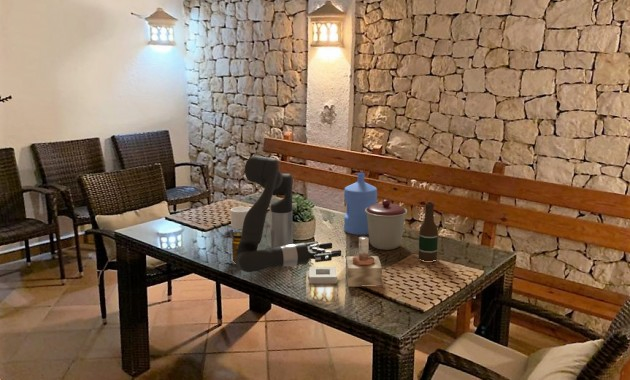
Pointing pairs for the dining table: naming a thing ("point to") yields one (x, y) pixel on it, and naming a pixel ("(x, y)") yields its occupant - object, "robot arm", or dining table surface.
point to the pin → (363, 253)
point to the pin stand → (322, 275)
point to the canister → (385, 225)
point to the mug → (238, 216)
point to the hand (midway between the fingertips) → (336, 248)
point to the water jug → (358, 205)
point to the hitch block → (363, 273)
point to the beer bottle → (428, 235)
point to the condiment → (236, 243)
